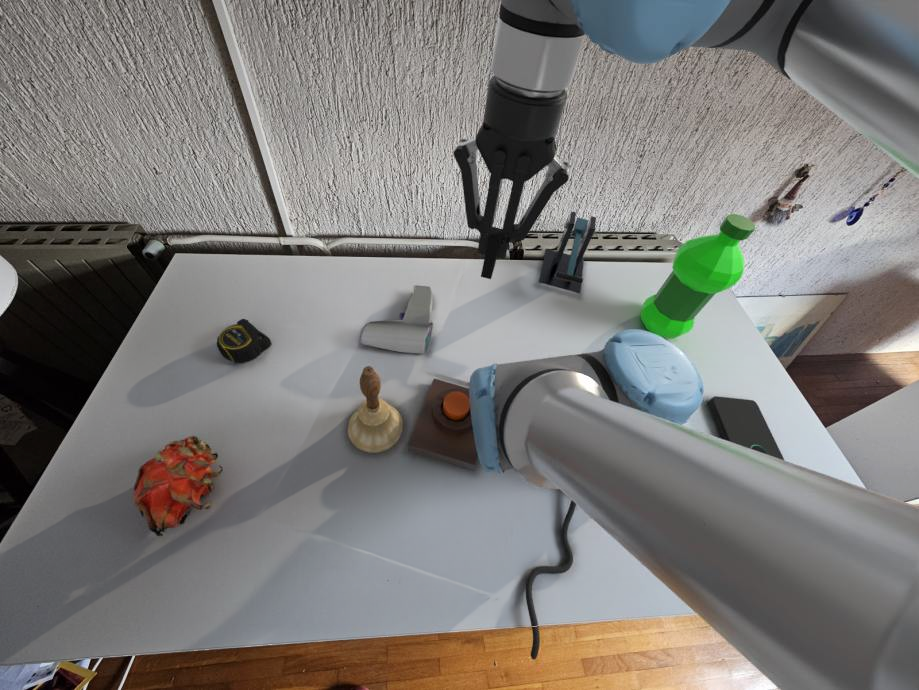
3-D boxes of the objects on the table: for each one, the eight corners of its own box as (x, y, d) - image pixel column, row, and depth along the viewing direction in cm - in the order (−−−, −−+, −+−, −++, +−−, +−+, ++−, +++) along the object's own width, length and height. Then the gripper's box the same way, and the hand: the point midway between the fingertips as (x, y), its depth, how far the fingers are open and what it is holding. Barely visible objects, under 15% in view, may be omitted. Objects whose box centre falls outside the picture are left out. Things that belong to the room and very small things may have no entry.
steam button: (465, 424, 56) (466, 418, 55) (439, 416, 56) (439, 410, 55) (471, 401, 59) (473, 395, 57) (446, 394, 59) (447, 388, 57)
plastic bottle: (688, 351, 74) (787, 248, 55) (634, 341, 75) (715, 235, 55) (677, 314, 81) (764, 210, 61) (628, 305, 81) (699, 198, 61)
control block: (473, 470, 56) (477, 460, 52) (408, 450, 56) (408, 439, 53) (490, 402, 63) (495, 389, 60) (433, 385, 64) (434, 372, 61)
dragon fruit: (221, 446, 55) (192, 539, 50) (151, 435, 51) (108, 536, 45) (238, 435, 50) (207, 537, 44) (161, 420, 45) (114, 533, 39)
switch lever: (579, 287, 72) (583, 280, 70) (553, 280, 72) (556, 273, 70) (591, 229, 77) (595, 221, 75) (566, 223, 77) (570, 215, 75)
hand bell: (410, 411, 60) (411, 352, 48) (391, 460, 55) (385, 407, 43) (362, 396, 61) (349, 334, 49) (338, 443, 56) (317, 386, 43)
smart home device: (761, 517, 54) (711, 395, 66) (752, 520, 55) (705, 400, 68) (816, 522, 54) (757, 400, 67) (806, 525, 56) (750, 404, 68)
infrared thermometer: (434, 301, 77) (430, 357, 67) (374, 295, 76) (360, 352, 66) (436, 283, 74) (431, 340, 64) (372, 277, 73) (357, 334, 63)
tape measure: (276, 349, 65) (270, 335, 62) (239, 374, 61) (230, 360, 58) (252, 328, 67) (245, 313, 64) (214, 350, 63) (205, 336, 61)
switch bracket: (578, 296, 81) (604, 243, 70) (537, 285, 82) (557, 231, 71) (582, 262, 88) (606, 209, 77) (544, 252, 89) (563, 198, 78)
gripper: (599, 82, 37) (535, 266, 56) (470, 55, 38) (450, 245, 57) (598, 112, 33) (528, 301, 51) (452, 80, 34) (436, 277, 52)
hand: (487, 271), depth 54 cm, fingers closed
